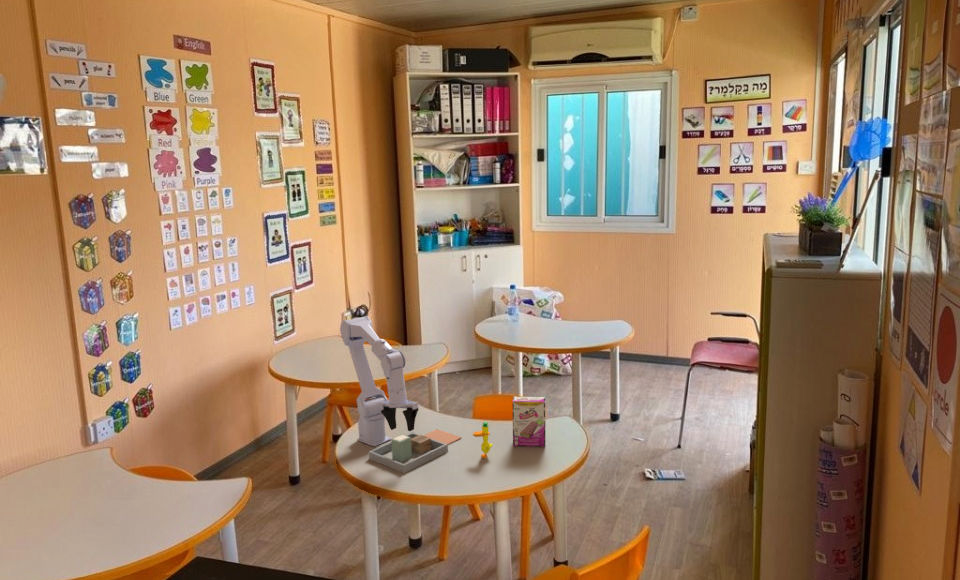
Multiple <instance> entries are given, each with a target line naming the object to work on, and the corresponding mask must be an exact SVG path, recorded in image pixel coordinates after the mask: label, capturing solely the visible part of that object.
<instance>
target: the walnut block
mask: <svg viewBox="0 0 960 580" xmlns="http://www.w3.org/2000/svg"><path fill="white" fill-rule="evenodd" d="M423 435H424V434H423ZM423 435H422V434H419V435H418V436H416V437H414V438H412V439H411V449H412V452H414V453H417V454H419V453H420V455H421V453H422V454H423V452H424V453H425V452H426V453H427V452H428V451H430V450H431V449H432V447H431V438H429V437H426V436H423ZM429 449H430V450H429ZM427 450H428V451H427Z"/></svg>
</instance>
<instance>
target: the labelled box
mask: <svg viewBox="0 0 960 580" xmlns="http://www.w3.org/2000/svg"><path fill="white" fill-rule="evenodd" d="M405 435H406V434H400V435H399V436H395V437H394V438H391V440H390V442H391V443H392V450H391V454H392V455H391V457H392V458H391V459H392V460H395V461H397V462H400V463H403V462H405V461H407V460H409V459H411V458H412V457H413V454H412V452H413V451H412V449H411V437H408V436H405Z"/></svg>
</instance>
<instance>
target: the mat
mask: <svg viewBox="0 0 960 580" xmlns="http://www.w3.org/2000/svg"><path fill="white" fill-rule="evenodd" d="M423 436H426V437H429V438H431V439H434V440H437V441H440V442H442V443H445V444H448V446H449V445H450V444H453V443H456V442H457V441H459V440H461V439H462V437H461V436H459V435H455V434H452V433H450V432H447V431H443V430H441V429H434V430H432V431H430V432H428V433H425V434H423Z"/></svg>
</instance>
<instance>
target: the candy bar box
mask: <svg viewBox="0 0 960 580" xmlns="http://www.w3.org/2000/svg"><path fill="white" fill-rule="evenodd" d="M546 404H547V403H546V396H513V397H512V446H513V447H541V448H543V447H546V440H547V439H546V424H547V423H546V421H547V419H546Z"/></svg>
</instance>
